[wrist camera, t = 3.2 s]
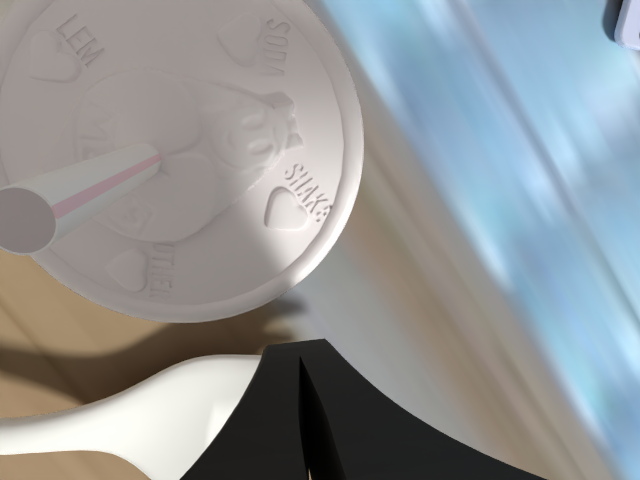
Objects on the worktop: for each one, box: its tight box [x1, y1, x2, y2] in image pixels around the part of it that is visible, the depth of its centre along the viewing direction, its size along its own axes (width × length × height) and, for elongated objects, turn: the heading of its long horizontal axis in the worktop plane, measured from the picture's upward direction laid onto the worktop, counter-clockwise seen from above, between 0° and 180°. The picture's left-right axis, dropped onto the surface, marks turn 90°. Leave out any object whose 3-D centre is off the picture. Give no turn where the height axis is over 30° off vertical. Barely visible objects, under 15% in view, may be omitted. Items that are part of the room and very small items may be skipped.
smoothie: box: [0, 0, 364, 323], centre depth 10 cm, size 6×6×14 cm
